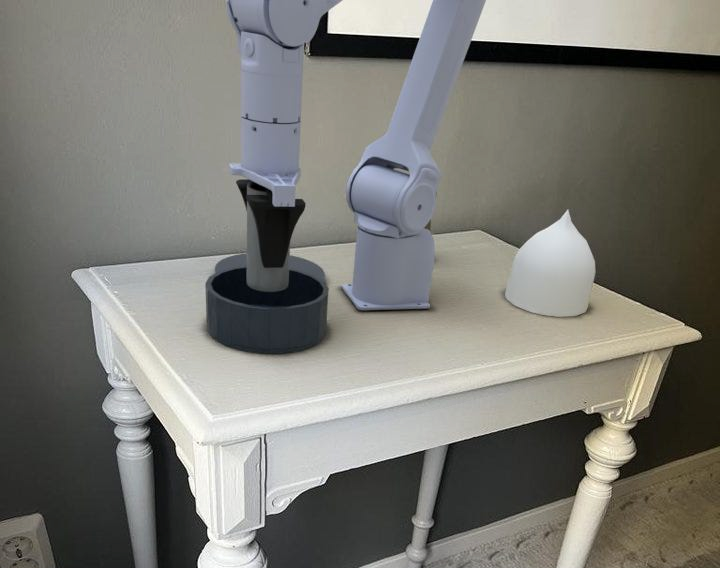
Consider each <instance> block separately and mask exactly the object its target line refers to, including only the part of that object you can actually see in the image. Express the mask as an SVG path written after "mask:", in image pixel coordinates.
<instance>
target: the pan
mask: <svg viewBox="0 0 720 568" xmlns="http://www.w3.org/2000/svg"><path fill="white" fill-rule="evenodd" d="M246 277H247V266H240V267H232V268H229V269H225V270H222V271H219V272H217V273H215V272H214V273H212V275H210V276H208V278H207V279H206V282H205V285H204V286H205V287H204V288H205V316H206V317H205V319H206V321H205V322H206V327H207V331H208V334H209V335H210V336H211V338H212V339H214V340H215V341H217V342H218V343H220V344H222V345H224V346H226V347H229V348H232V349H235V350H239V351H242V352H247V353H254V354H265V355H266V354H269V355H277V354H278V355H279V354H291V353H297V352H301V351H304V350H308V349H310V348H313V347H314V346H317V345H318V344H320V343H321V342H322V341H323V340H324V338H325V337H326V329H327V323H328V322H327V321H328V320H327V319H328V306H329V291H330V288H329V287H328V285H327V284H326V283H325V280H324V281H322V280H321V279H319V278H317V277H316V276H314V275H312V274H309V273H306V272H303V271H300V270H295V269H291V268H289V282H288V287H287V288H286V289H284V290H282V291H277V292H264V291H258V290H255V289H252V288H250V287H249V286H248V285H247V278H246Z"/></svg>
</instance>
